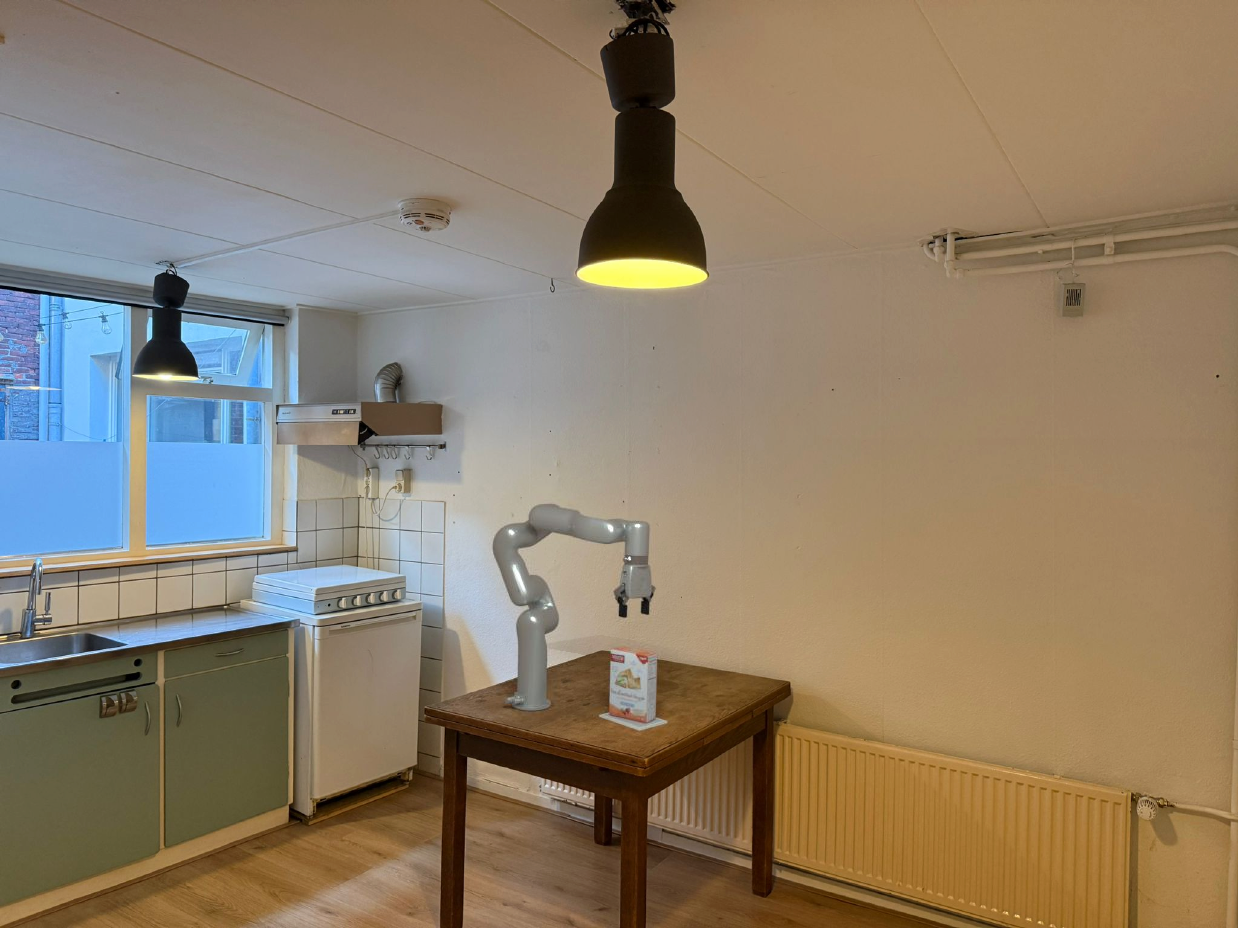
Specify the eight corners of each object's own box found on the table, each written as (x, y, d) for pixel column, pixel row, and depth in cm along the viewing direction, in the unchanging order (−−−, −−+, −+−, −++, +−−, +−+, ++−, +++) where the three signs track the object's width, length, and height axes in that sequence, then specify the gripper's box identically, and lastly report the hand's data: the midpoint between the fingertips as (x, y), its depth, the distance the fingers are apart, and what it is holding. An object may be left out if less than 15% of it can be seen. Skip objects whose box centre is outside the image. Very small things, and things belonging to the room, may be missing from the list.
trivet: (639, 730, 246) (639, 728, 246) (599, 716, 259) (599, 714, 259) (667, 722, 254) (667, 720, 254) (626, 709, 267) (626, 707, 267)
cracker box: (608, 715, 258) (609, 648, 258) (618, 711, 263) (620, 645, 263) (645, 724, 250) (647, 655, 250) (656, 719, 255) (658, 651, 255)
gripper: (624, 563, 248) (622, 620, 248) (664, 560, 260) (661, 614, 260) (607, 560, 254) (605, 616, 254) (647, 558, 265) (644, 611, 265)
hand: (633, 615), depth 257 cm, fingers open, 9 cm apart
